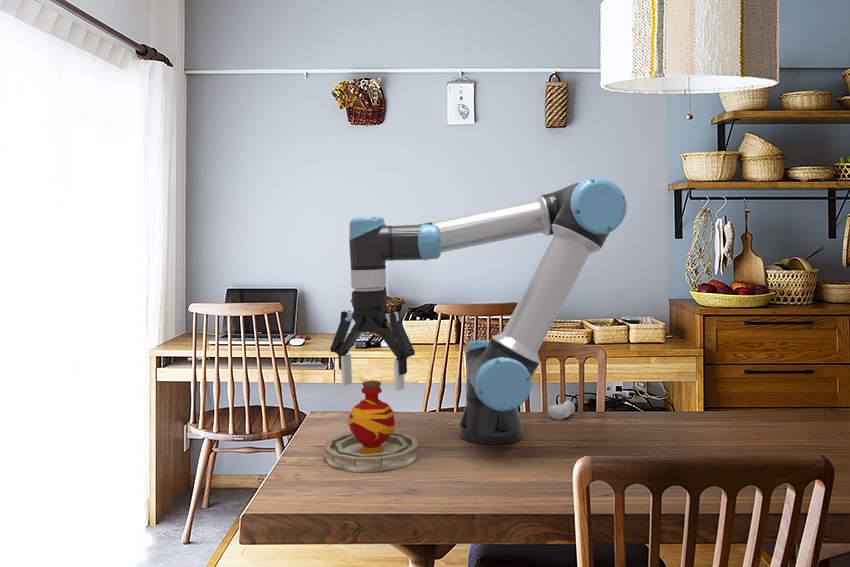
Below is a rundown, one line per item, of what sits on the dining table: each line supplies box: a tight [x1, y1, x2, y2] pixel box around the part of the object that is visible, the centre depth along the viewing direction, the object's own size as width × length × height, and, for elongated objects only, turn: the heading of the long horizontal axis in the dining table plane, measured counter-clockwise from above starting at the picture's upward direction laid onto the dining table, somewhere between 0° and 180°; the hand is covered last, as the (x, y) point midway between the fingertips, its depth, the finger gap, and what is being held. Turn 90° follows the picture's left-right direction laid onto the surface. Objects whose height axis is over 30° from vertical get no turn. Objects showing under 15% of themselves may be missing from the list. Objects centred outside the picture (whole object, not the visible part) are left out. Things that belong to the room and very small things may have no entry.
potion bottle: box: [347, 380, 396, 454], centre depth 143 cm, size 10×10×15 cm
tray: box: [323, 431, 419, 473], centre depth 144 cm, size 20×20×3 cm
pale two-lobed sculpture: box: [547, 399, 576, 421], centre depth 174 cm, size 4×8×5 cm
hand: (372, 387), depth 143 cm, fingers open, 13 cm apart
